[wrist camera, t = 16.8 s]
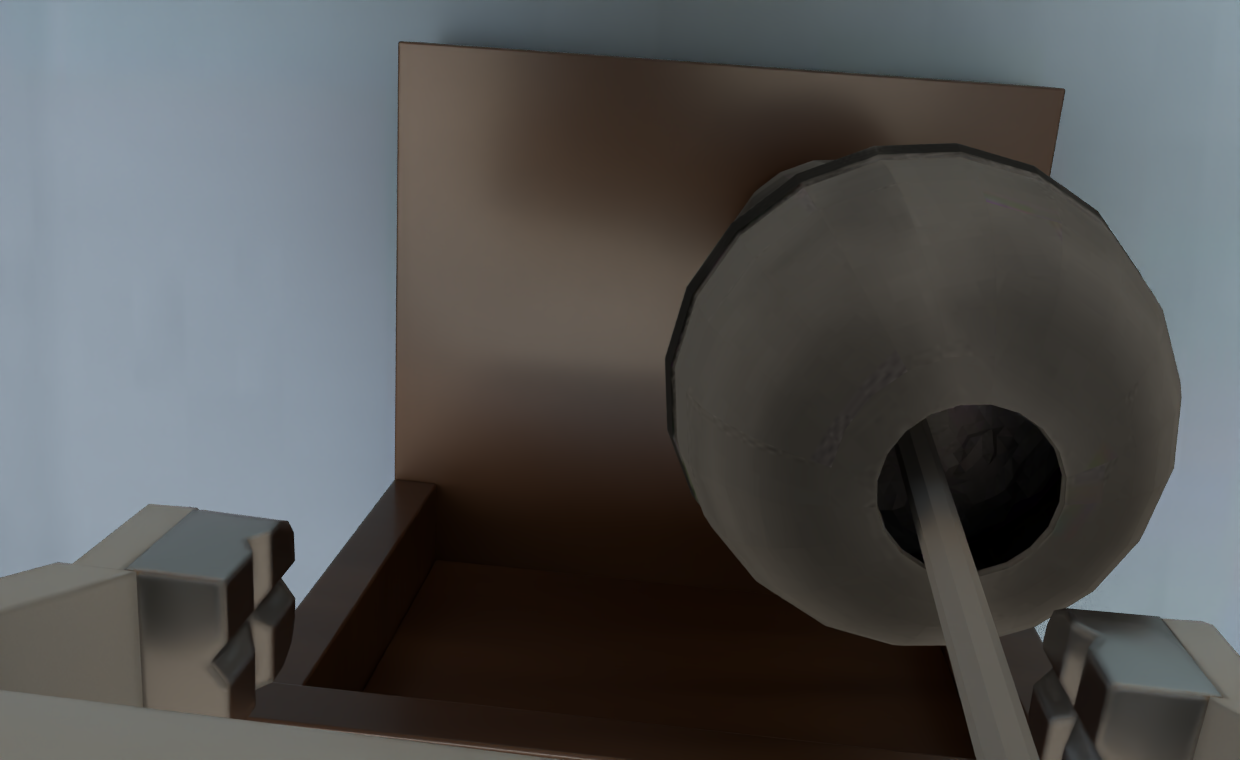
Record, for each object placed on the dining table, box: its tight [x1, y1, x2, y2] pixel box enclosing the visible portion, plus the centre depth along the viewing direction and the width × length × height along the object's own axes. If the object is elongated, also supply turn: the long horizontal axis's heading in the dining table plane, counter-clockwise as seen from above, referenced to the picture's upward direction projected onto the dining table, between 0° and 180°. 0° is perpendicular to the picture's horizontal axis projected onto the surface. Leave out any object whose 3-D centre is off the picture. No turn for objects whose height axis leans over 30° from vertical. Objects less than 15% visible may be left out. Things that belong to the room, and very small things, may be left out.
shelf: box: [246, 41, 1065, 760], centre depth 24 cm, size 15×16×15 cm
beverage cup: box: [665, 143, 1182, 760], centre depth 18 cm, size 7×7×20 cm
